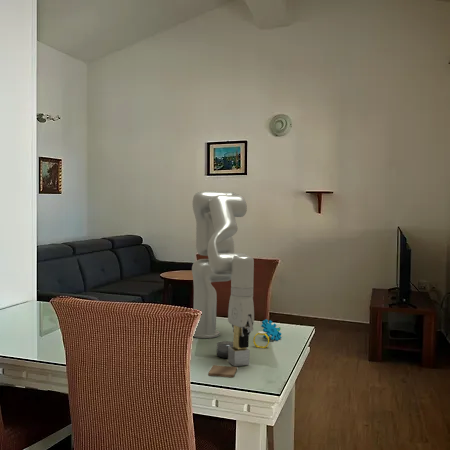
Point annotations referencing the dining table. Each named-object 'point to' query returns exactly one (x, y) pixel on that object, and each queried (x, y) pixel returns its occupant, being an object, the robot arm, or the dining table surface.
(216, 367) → the board
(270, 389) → the dining table surface
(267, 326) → the gear
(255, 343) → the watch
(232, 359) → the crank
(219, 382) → the dining table surface
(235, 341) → the tan wooden bar
